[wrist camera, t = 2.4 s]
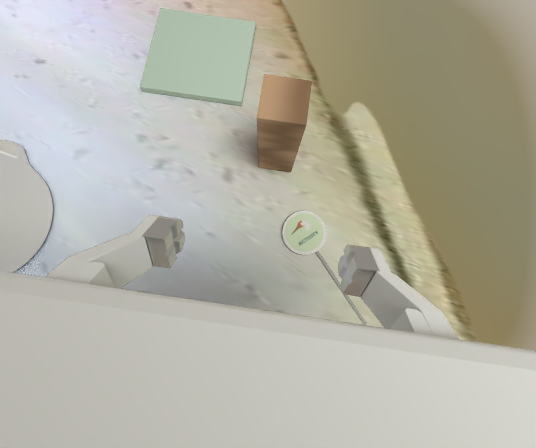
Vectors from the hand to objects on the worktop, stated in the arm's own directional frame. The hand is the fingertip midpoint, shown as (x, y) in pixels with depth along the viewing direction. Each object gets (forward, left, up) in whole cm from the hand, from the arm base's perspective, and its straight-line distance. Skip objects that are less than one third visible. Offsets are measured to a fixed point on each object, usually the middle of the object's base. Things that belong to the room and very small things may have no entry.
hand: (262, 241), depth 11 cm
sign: (+8, -1, -16) cm, 18 cm away
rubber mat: (-12, +24, -15) cm, 31 cm away
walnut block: (0, +12, -15) cm, 19 cm away
